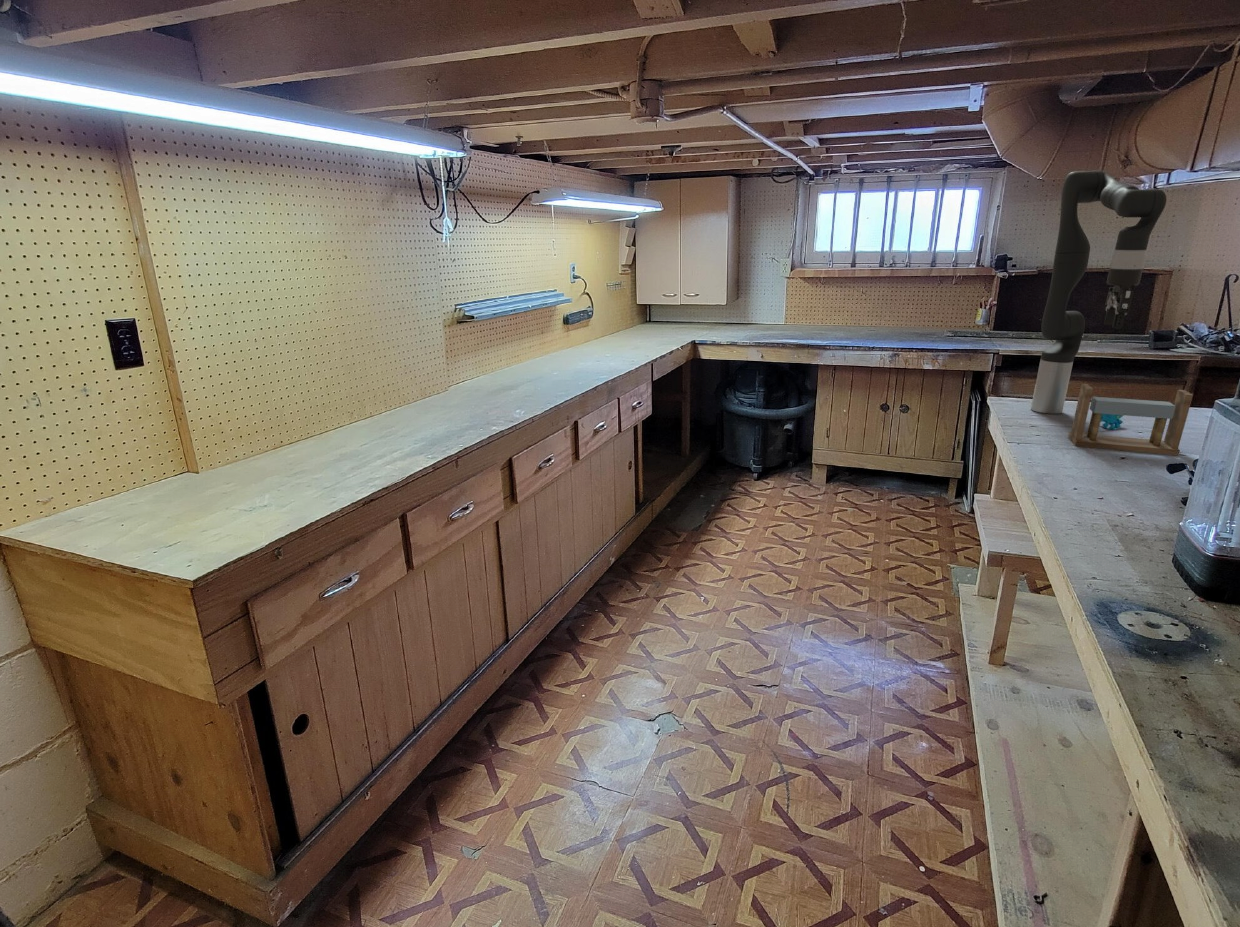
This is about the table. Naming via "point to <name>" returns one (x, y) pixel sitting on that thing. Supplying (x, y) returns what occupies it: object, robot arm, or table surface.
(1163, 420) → the stand
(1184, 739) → the table surface
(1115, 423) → the gear
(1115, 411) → the grey rectangular block
